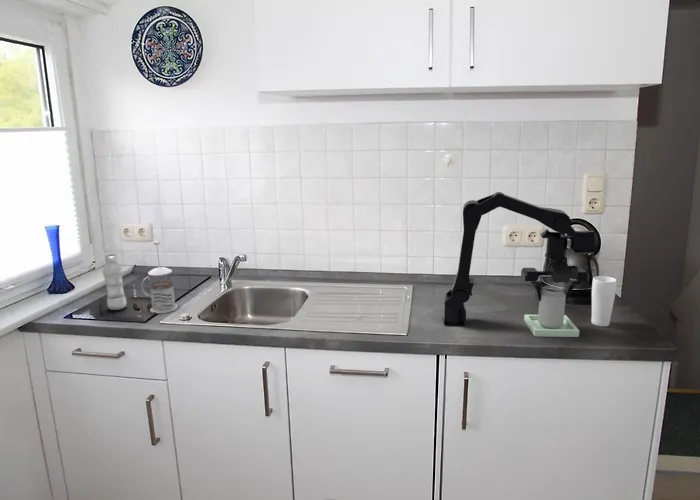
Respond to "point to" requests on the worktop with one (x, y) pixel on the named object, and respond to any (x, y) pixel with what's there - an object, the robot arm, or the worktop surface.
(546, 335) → the tray
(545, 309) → the can
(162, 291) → the french press
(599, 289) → the drinking glass
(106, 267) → the plastic bottle
